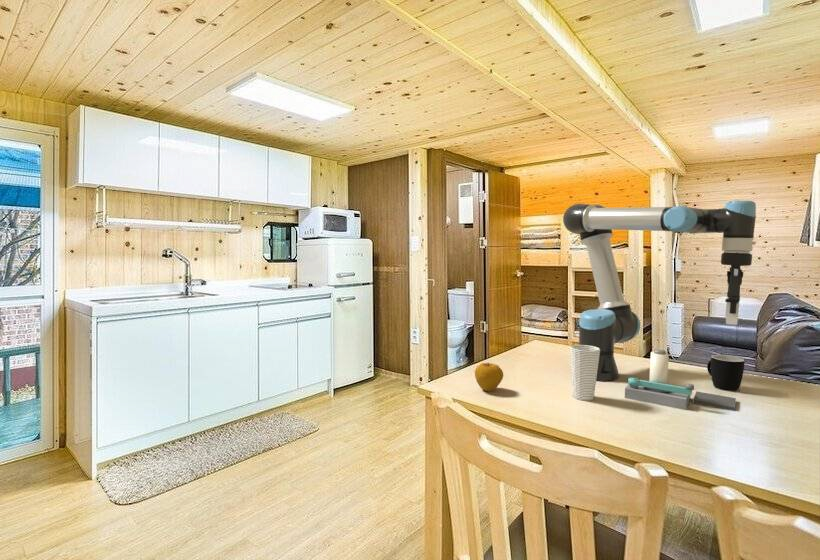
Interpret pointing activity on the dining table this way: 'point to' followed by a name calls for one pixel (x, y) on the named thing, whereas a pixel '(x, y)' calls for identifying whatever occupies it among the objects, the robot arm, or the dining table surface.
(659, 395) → the socket block
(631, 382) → the clip
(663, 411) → the dining table surface
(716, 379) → the mug
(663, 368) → the plug
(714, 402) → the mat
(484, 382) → the apple
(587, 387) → the cup
